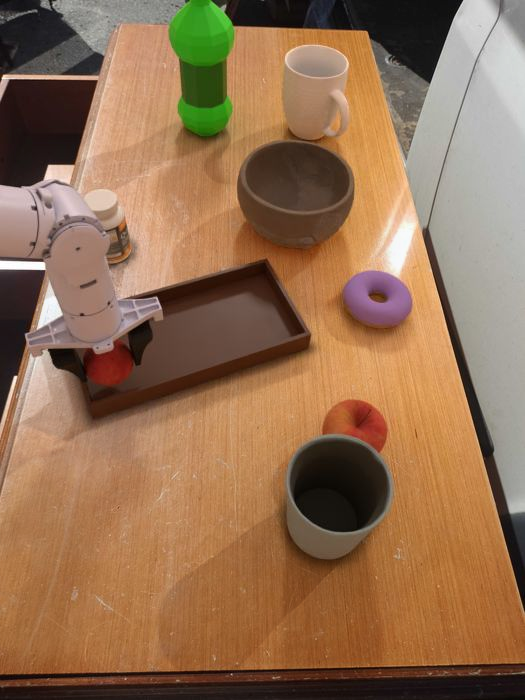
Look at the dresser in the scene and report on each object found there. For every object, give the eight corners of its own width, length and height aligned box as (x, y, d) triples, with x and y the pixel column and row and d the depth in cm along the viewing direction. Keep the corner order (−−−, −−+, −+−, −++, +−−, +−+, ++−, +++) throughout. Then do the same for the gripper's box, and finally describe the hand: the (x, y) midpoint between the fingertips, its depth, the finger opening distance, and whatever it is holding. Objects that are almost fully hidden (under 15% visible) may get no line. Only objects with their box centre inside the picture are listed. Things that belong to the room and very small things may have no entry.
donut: (421, 299, 81) (427, 281, 77) (390, 348, 78) (395, 332, 74) (361, 269, 84) (364, 250, 80) (329, 315, 81) (330, 298, 77)
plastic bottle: (214, 151, 99) (209, -1, 79) (166, 131, 102) (149, -21, 82) (244, 124, 104) (247, -25, 84) (198, 106, 107) (190, -44, 87)
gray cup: (385, 519, 63) (414, 478, 53) (330, 590, 58) (351, 560, 48) (315, 462, 66) (330, 413, 56) (258, 524, 62) (263, 484, 52)
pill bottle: (136, 259, 84) (125, 208, 75) (98, 269, 82) (83, 217, 74) (127, 234, 87) (115, 182, 78) (90, 243, 85) (74, 191, 77)
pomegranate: (92, 402, 68) (77, 366, 61) (87, 364, 71) (73, 326, 64) (140, 392, 69) (130, 356, 62) (133, 355, 72) (123, 316, 65)
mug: (363, 146, 102) (378, 77, 92) (316, 166, 98) (327, 97, 88) (312, 106, 109) (321, 38, 98) (267, 124, 105) (271, 54, 94)
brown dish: (92, 420, 68) (87, 407, 66) (66, 329, 76) (61, 315, 73) (309, 347, 76) (311, 334, 73) (265, 272, 83) (266, 257, 81)
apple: (305, 442, 68) (313, 411, 61) (348, 409, 70) (359, 375, 64) (348, 487, 65) (361, 459, 58) (390, 451, 67) (407, 420, 61)
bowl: (330, 276, 83) (341, 226, 75) (219, 245, 86) (218, 193, 78) (357, 204, 93) (369, 152, 85) (256, 178, 96) (258, 126, 87)
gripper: (19, 345, 53) (56, 413, 64) (166, 303, 57) (177, 374, 68) (7, 292, 56) (44, 366, 68) (146, 256, 60) (159, 331, 71)
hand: (110, 367), depth 68 cm, fingers closed on pomegranate, 6 cm apart
